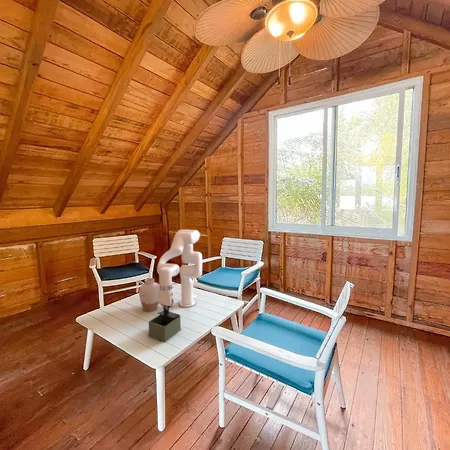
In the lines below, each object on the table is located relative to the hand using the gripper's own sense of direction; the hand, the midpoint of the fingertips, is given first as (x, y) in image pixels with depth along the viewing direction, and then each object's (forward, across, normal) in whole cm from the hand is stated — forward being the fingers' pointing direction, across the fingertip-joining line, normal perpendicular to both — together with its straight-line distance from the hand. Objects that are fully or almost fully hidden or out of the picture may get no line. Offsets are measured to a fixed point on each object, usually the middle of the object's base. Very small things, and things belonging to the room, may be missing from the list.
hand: (166, 314), depth 159 cm
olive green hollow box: (+12, 0, +2) cm, 12 cm away
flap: (+1, 0, -2) cm, 2 cm away
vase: (+12, +32, -18) cm, 39 cm away
